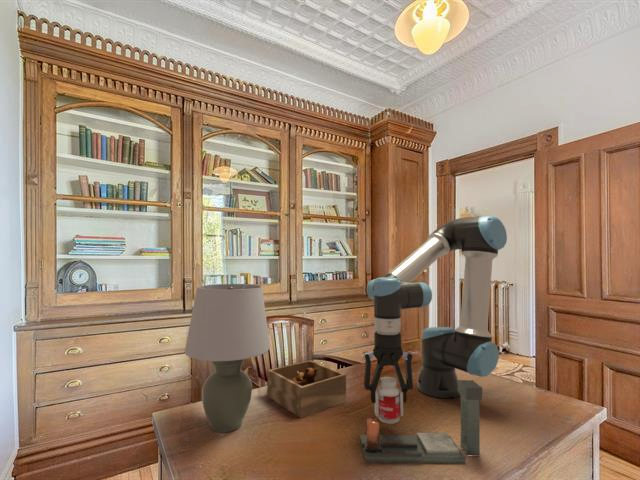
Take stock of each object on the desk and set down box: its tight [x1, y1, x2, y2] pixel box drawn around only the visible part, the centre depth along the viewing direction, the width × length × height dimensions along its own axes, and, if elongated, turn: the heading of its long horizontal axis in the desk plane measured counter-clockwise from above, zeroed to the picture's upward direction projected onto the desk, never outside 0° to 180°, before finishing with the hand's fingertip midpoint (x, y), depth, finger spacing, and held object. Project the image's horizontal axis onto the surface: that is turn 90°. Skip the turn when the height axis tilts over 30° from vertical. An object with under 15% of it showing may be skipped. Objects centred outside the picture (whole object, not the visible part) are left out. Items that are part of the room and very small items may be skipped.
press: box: [360, 379, 483, 464], centre depth 85 cm, size 30×10×17 cm, turn 91°
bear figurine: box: [292, 367, 317, 386], centre depth 115 cm, size 14×15×12 cm
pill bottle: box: [377, 376, 401, 425], centre depth 95 cm, size 6×6×11 cm
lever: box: [364, 417, 382, 452], centre depth 82 cm, size 4×3×7 cm
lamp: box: [184, 283, 271, 433], centre depth 98 cm, size 24×24×40 cm
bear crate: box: [266, 359, 347, 419], centre depth 115 cm, size 20×19×9 cm
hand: (388, 413), depth 95 cm, fingers closed on pill bottle, 6 cm apart
